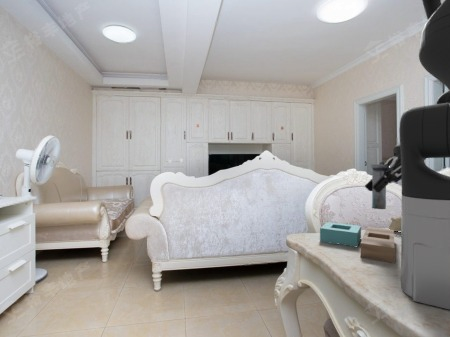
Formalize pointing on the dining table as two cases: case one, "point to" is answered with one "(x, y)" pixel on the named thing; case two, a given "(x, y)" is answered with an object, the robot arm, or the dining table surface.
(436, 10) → the robot arm
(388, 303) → the dining table surface
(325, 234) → the holder
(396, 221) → the decorative ornament
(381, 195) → the axle
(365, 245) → the beam
